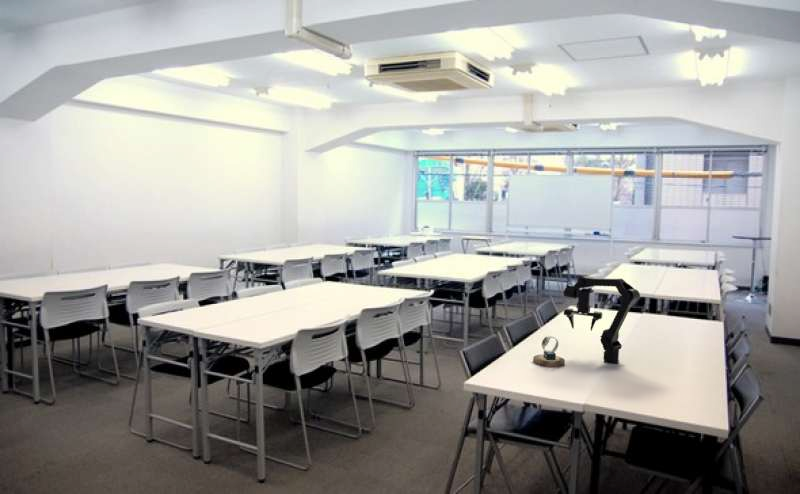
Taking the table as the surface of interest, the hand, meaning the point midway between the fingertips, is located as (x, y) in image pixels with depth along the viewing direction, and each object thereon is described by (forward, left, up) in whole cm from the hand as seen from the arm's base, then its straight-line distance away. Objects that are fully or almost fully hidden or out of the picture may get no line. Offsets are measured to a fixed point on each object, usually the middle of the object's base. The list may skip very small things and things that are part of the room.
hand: (582, 329), depth 298 cm
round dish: (+11, +25, -13) cm, 30 cm away
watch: (+11, +25, -11) cm, 29 cm away
